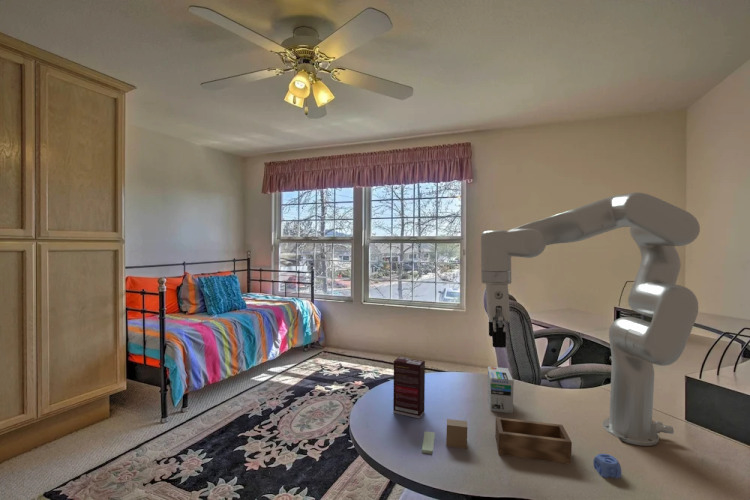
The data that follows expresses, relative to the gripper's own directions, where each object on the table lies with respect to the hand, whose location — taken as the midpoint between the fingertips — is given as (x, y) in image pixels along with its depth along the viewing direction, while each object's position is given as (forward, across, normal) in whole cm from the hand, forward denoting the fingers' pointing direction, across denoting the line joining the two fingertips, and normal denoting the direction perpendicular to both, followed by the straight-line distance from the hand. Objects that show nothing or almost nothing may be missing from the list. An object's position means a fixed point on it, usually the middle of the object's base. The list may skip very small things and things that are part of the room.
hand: (497, 341), depth 98 cm
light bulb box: (+26, +17, -2) cm, 31 cm away
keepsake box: (+26, -7, -7) cm, 27 cm away
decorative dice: (+26, -12, -22) cm, 36 cm away
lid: (+25, -8, +11) cm, 29 cm away
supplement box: (+25, +7, +25) cm, 36 cm away
